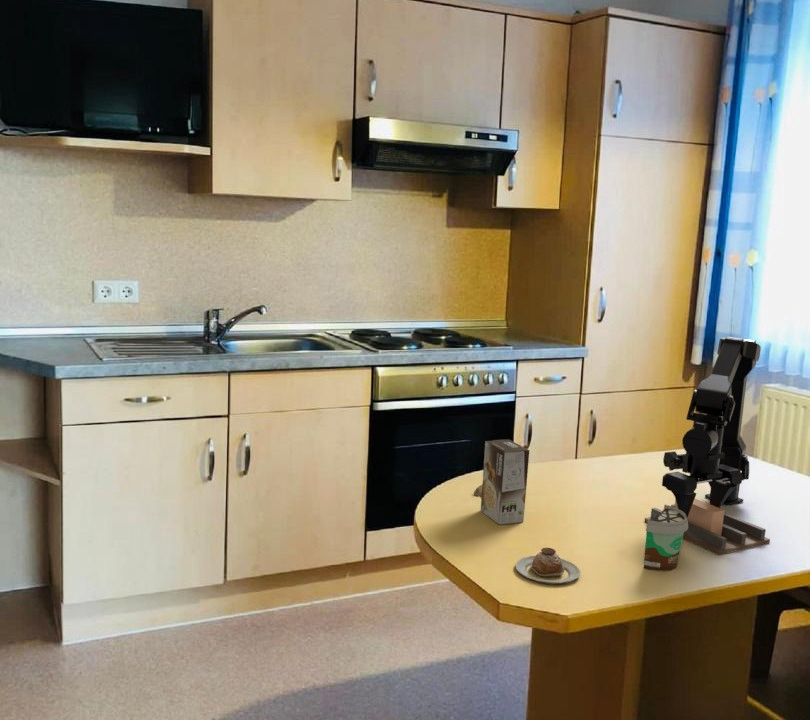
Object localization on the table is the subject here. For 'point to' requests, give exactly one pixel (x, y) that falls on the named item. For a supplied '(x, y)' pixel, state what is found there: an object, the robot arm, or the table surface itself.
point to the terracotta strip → (706, 516)
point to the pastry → (548, 567)
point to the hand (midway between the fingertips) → (697, 517)
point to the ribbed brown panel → (723, 534)
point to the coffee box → (504, 481)
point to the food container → (664, 539)
